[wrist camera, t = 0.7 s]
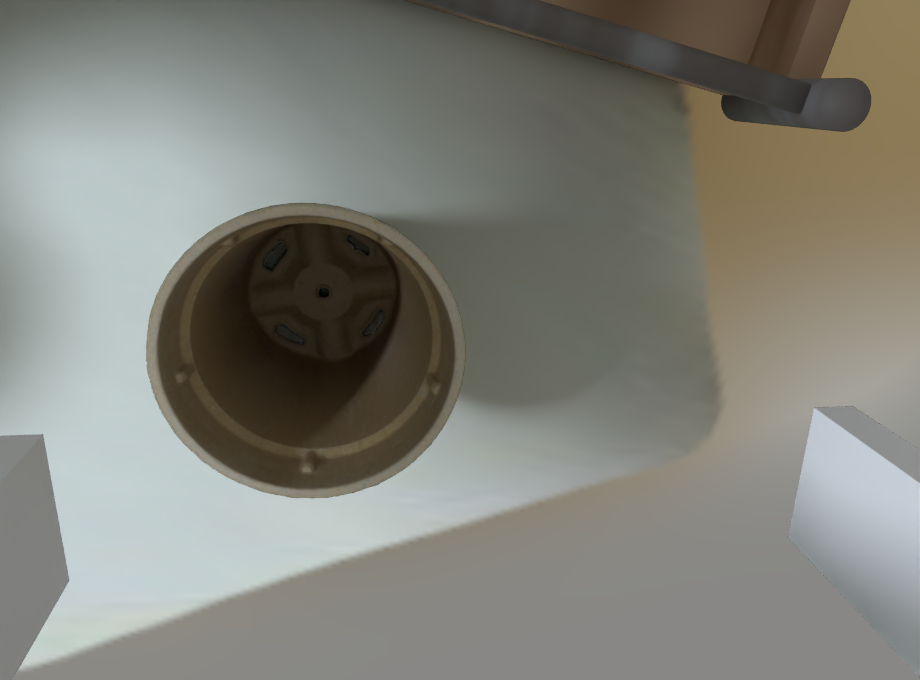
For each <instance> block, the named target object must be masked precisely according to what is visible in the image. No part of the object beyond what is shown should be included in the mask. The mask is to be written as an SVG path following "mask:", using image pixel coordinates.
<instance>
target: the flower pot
mask: <svg viewBox="0 0 920 680" xmlns="http://www.w3.org/2000/svg"><path fill="white" fill-rule="evenodd" d="M349 235H351V236H352V237H354V238H355V239H357V240H358V241H360V242H361V243H362V244H364V245H365V246H366V247H367V248H368V250H369V255H366V254H365V253H364V252H362V251H361V250H359V249H357V250H354V248H355V247H354V246H353V245H352V244H351V243H350V242H348V241H347V238H348V236H349ZM281 243H283V245H284V246H285V247H286V248H287V251H286V253H285V254H284V255H283V257H282V258H281V259H280V261H279V262H278V263H277V264H276V266H275V267H274V270H270V269H267V268H266V267H265V266H264V260H265V258H266V257H267V255H268V254H269V253H270V252H271V251H273V250H274V249H275V247H276V246H277V245H279V244H281ZM321 288H326V289H327V290H328V291H329V296H327V297H320V296H319V290H320V289H321ZM378 311H382V312H383V313H384V317H383V321H382V323H381V325H380V326H379V327H378V328H377V330H376V331H375V332H374V333H372V334H370V335H364V334H363V331H364V330H365V328H366V327H367V326H368V325H369V323H370V322H371V321H372V319H373V318H374V317H375V315H376V313H377V312H378ZM280 325H285V326H286V327H287V328H289V329H290V330H291V331H292V332H293V333H295V334H296V335H298V336H300V337H302V338H303V339H304V343H303V344H300V343H298V342H293V341H291V340H289V339H287V338H285V337H284V336H282V335H280V334H279V333H278V332H277V331H276V328H277V326H280ZM465 358H466V351H465V339H464V331H463V325H462V320H461V316H460V313H459V310H458V306H457V303H456V301H455V299H454V297H453V295H452V292H451V290H450V288H449V287H448V285H447V283H446V281H445V280H444V278H443V277H442V275H441V273H440V272H439V271H438V269H437V268H436V267H435V265H434V264H433V263H432V261H431V260H430V259H429V258H428V257H427V256H426V255H425V254H424V253H423V252H422V251H421V250H420V249H419V248H418V247H417V246H416V245H415V244H414V243H413V242H411V241H410V240H409V239H408V238H406V237H405V236H404V235H403V234H401V233H400V232H398V231H397V230H395V229H394V228H392V227H390V226H389V225H387V224H385V223H383V222H381V221H379V220H377V219H375V218H373V217H371V216H368V215H365V214H363V213H360V212H357V211H354V210H351V209H347V208H343V207H339V206H333V205H327V204H317V203H289V204H281V205H274V206H269V207H265V208H261V209H257V210H254V211H251V212H247V213H245V214H243V215H240V216H238V217H235V218H233V219H231V220H229V221H227V222H225V223H223V224H221V225H219V226H218V227H216V228H214V229H213V230H211V231H210V232H209V233H207V234H206V235H204V236H203V237H202V238H200V239H199V240H198V241H197V242H195V243H194V244H193V245H192V246H191V247H190V248H189V249H188V250H187V251H186V252H185V253H184V254H183V255H182V257H181V258H180V259H179V260H178V261H177V262H176V263H175V265H174V266H173V267H172V269H171V270H170V272H169V273H168V275H167V276H166V278H165V280H164V282H163V284H162V285H161V287H160V289H159V292H158V293H157V295H156V298H155V301H154V304H153V307H152V310H151V313H150V318H149V324H148V331H147V344H146V361H147V371H148V375H149V379H150V383H151V387H152V390H153V393H154V395H155V399H156V401H157V404H158V406H159V408H160V410H161V412H162V414H163V416H164V417H165V419H166V420H167V422H168V423H169V425H170V426H171V428H172V430H173V431H174V433H175V434H176V436H177V437H178V438H179V439H180V440H181V441H182V442H183V443H184V445H186V446H187V447H188V448H189V449H190V450H191V451H192V452H194V453H195V454H196V455H197V457H198V458H199V459H200V460H202V461H203V462H204V463H206V464H208V465H209V466H210V467H212V468H213V469H215V470H216V471H218V472H219V473H221V474H223V475H224V476H226V477H228V478H230V479H232V480H234V481H236V482H238V483H241V484H243V485H246V486H248V487H251V488H253V489H256V490H259V491H262V492H266V493H270V494H274V495H281V496H286V497H291V498H329V497H333V496H340V495H345V494H349V493H354V492H357V491H360V490H363V489H366V488H368V487H372V486H375V485H378V484H380V483H381V482H383V481H385V480H387V479H389V478H391V477H392V476H394V475H396V474H397V473H399V472H400V471H402V470H403V469H405V468H406V467H408V466H409V465H410V464H411V463H412V462H414V461H415V460H416V459H417V458H418V457H419V456H420V455H421V454H422V453H423V452H424V451H425V450H426V449H427V448H428V447H429V446H430V445H431V444H432V442H433V441H434V439H435V438H436V437H437V436H438V434H439V433H440V431H441V430H442V428H443V427H444V425H445V423H446V422H447V420H448V418H449V416H450V414H451V413H452V410H453V408H454V405H455V403H456V401H457V398H458V395H459V392H460V389H461V384H462V379H463V375H464V367H465Z"/></svg>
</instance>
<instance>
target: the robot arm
mask: <svg viewBox="0 0 920 680" xmlns="http://www.w3.org/2000/svg"><path fill="white" fill-rule="evenodd" d="M788 538H789V539H790V540H791V541H792V542H793V543H794V544H795V546H796V547H797V548H798V549H799V550H800V551H801V552H802V553H803V554H804V555H805V556H806V557H807V558H808V559H809V560H810V561H811V563H812V564H813V565H814V566H815V567H816V568H817V569H818V570H819V571H820V572H821V573H822V574H823V575H824V576H825V577H826V578H827V580H828V581H829V582H830V583H831V584H832V585H833V586H834V587H835V588H836V589H837V590H838V591H839V592H840V593H841V594H842V595H843V596H844V598H845V599H846V600H847V601H848V602H849V603H850V604H851V605H852V606H853V607H854V608H855V609H856V610H857V611H858V612H859V613H860V614H861V615H862V617H863V618H864V619H865V620H866V621H867V622H868V623H869V624H870V625H871V626H872V627H873V628H874V629H875V630H876V631H877V632H878V634H879V635H880V636H881V637H882V638H883V639H884V640H885V641H886V642H887V643H888V644H889V645H890V646H891V647H892V648H893V649H894V650H895V652H896V653H897V654H898V655H899V656H900V657H901V658H902V659H903V660H904V661H905V662H906V663H907V664H908V665H909V666H910V667H911V669H912V670H913V671H914V672H915V673H916V674H917V675H918V676H919V677H920V450H918V449H917V448H916V447H914V446H913V445H911V444H910V443H908V442H906V441H905V440H903V439H902V438H900V437H899V436H897V435H896V434H894V433H893V432H891V431H890V430H888V429H887V428H885V427H884V426H882V425H881V424H879V423H878V422H876V421H875V420H873V419H871V418H870V417H868V416H867V415H865V414H864V413H862V412H861V411H859V410H858V409H856V408H855V407H853V406H845V407H818V408H814V411H813V415H812V420H811V425H810V430H809V435H808V440H807V445H806V450H805V455H804V460H803V465H802V470H801V474H800V479H799V484H798V489H797V494H796V499H795V504H794V509H793V515H792V519H791V524H790V530H789V534H788ZM68 582H69V576H68V571H67V565H66V560H65V554H64V548H63V543H62V537H61V532H60V526H59V521H58V515H57V510H56V504H55V499H54V493H53V487H52V482H51V476H50V471H49V465H48V460H47V454H46V449H45V443H44V437H43V434H41V435H12V436H0V680H12V679H13V678H14V676H15V674H16V672H17V671H18V669H19V667H20V665H21V664H22V662H23V660H24V658H25V657H26V655H27V653H28V651H29V650H30V648H31V646H32V645H33V643H34V641H35V639H36V638H37V636H38V634H39V632H40V631H41V629H42V627H43V625H44V624H45V622H46V620H47V618H48V617H49V615H50V613H51V611H52V610H53V608H54V606H55V604H56V603H57V601H58V599H59V597H60V596H61V594H62V592H63V590H64V589H65V587H66V585H67V583H68Z"/></svg>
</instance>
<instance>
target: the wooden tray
mask: <svg viewBox="0 0 920 680" xmlns="http://www.w3.org/2000/svg"><path fill="white" fill-rule="evenodd" d="M405 1H409V2H412V3H415V4H419V5H422V6H425V7H429V8H432V9H435V10H439V11H442V12H445V13H449V14H452V15H456V16H459V17H462V18H466V19H469V20H472V21H476V22H479V23H482V24H486V25H489V26H492V27H496V28H499V29H502V30H506V31H509V32H513V33H516V34H519V35H523V36H526V37H529V38H533V39H536V40H539V41H543V42H546V43H549V44H553V45H556V46H559V47H563V48H566V49H570V50H573V51H576V52H580V53H583V54H586V55H590V56H593V57H596V58H600V59H603V60H606V61H610V62H613V63H616V64H620V65H623V66H627V67H630V68H633V69H637V70H640V71H643V72H647V73H650V74H653V75H657V76H660V77H663V78H667V79H670V80H674V81H677V82H680V83H684V84H687V85H690V86H694V87H697V88H700V89H704V90H707V91H710V92H714V93H717V94H720V95H723V96H722V101H721V104H722V105H721V106H722V110H723V112H724V114H725V115H726V116H727V117H728V118H729V119H731V120H734V121H742V122H751V123H761V124H772V125H781V126H791V127H800V128H811V129H821V130H830V131H841V132H845V131H850V130H852V129H854V128H856V127H857V126H859V125H860V124H861V123H862V122H863V121H864V119H865V118H866V116H867V115H868V112H869V110H870V106H871V94H870V91H869V89H868V87H867V86H866V84H865V83H863V82H862V81H860V80H858V79H855V78H831V79H830V78H829V79H821V76H822V73H823V71H824V68H825V66H826V63H827V60H828V58H829V55H830V53H831V50H832V47H833V45H834V42H835V39H836V37H837V34H838V32H839V29H840V27H841V24H842V21H843V19H844V16H845V13H846V11H847V8H848V6H849V3H850V0H405Z"/></svg>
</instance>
